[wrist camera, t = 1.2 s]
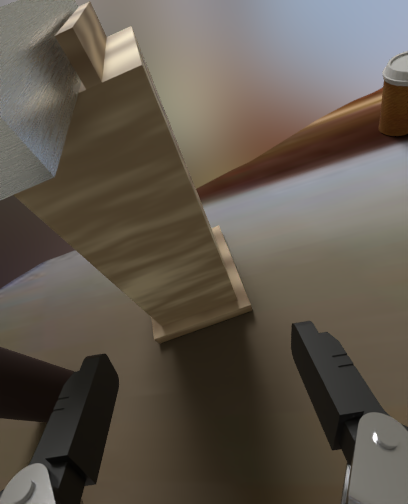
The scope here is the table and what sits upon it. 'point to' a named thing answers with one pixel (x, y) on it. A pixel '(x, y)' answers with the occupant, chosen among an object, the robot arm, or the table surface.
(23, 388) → the bottle
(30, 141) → the rail
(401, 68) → the disposable coffee cup
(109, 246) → the post
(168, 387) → the table surface
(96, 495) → the table surface
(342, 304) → the table surface
